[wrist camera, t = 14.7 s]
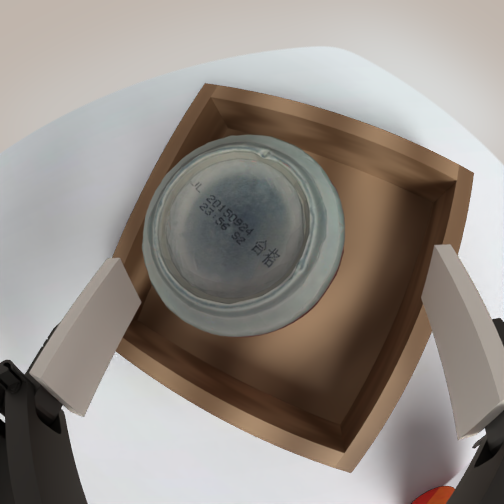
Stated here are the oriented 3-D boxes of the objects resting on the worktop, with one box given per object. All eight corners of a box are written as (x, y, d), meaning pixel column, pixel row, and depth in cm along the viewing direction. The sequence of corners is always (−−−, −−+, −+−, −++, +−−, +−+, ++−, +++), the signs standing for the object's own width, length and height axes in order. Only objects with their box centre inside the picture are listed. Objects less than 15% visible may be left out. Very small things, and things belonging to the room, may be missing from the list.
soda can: (290, 339, 19) (250, 390, 8) (211, 279, 21) (97, 249, 10) (350, 255, 20) (392, 189, 8) (268, 201, 21) (213, 94, 10)
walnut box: (129, 325, 23) (86, 328, 18) (225, 120, 25) (204, 83, 19) (345, 436, 18) (351, 472, 13) (444, 200, 19) (473, 172, 14)
